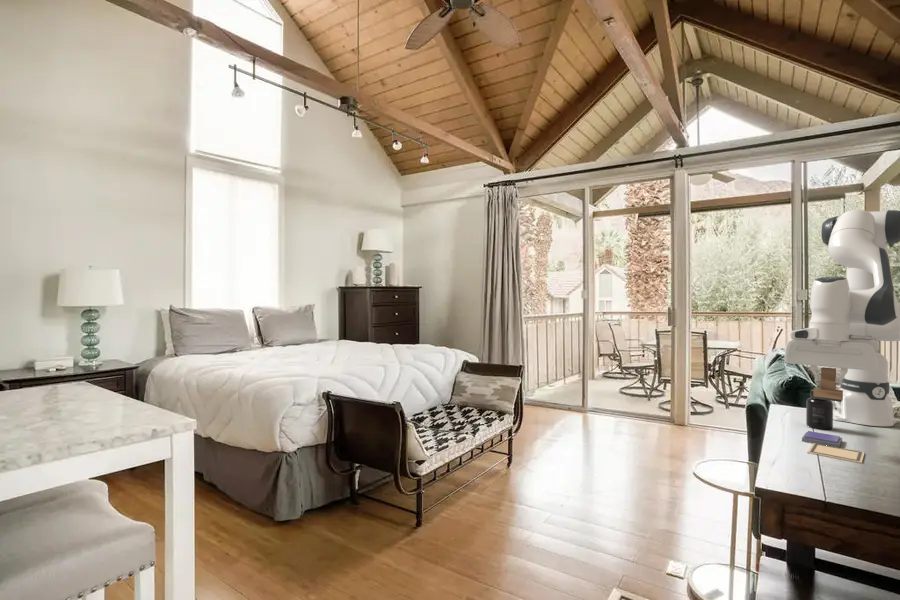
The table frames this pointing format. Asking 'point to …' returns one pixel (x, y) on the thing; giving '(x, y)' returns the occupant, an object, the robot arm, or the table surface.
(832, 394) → the stamp
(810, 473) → the table surface
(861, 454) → the marked card
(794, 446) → the table surface
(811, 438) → the ink pad
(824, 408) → the supplement bottle
